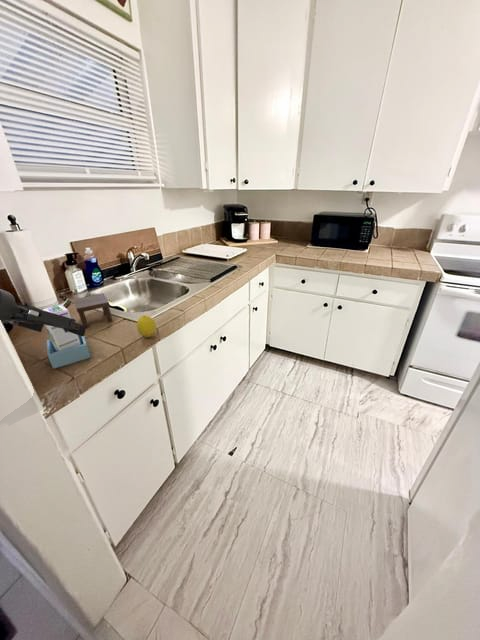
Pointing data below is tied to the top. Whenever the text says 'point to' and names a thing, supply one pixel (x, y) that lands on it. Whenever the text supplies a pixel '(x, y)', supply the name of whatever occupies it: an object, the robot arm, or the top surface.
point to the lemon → (146, 326)
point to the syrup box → (61, 331)
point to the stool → (92, 306)
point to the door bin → (67, 353)
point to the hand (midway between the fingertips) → (62, 329)
